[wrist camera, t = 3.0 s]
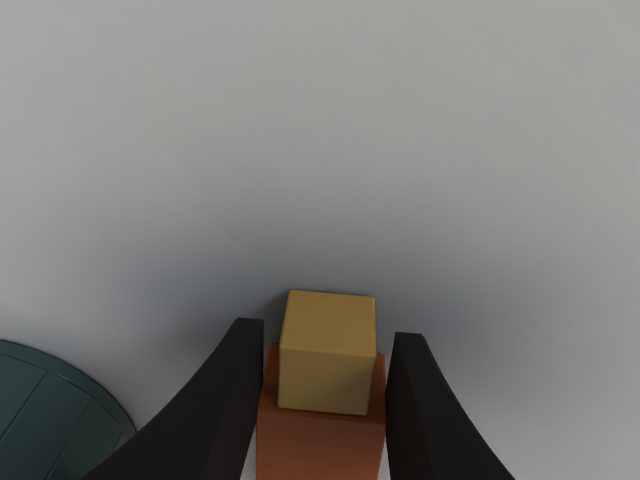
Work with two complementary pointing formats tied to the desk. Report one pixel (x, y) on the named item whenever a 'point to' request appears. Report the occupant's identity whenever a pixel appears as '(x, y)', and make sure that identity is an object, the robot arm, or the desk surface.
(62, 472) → the cup
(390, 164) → the desk surface
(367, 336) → the tan orange collared block
